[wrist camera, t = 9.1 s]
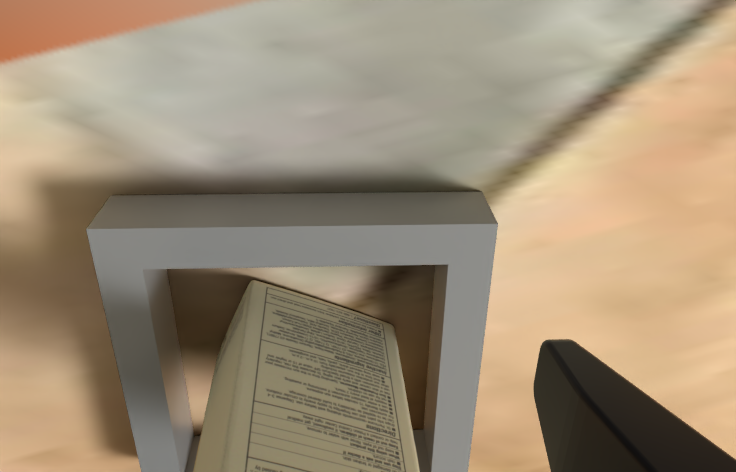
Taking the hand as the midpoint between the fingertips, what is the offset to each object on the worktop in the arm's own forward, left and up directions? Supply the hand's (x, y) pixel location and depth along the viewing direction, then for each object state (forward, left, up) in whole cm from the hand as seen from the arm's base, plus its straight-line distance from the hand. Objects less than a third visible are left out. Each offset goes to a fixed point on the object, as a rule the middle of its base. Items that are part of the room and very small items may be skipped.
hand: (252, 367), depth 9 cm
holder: (0, -10, -13) cm, 16 cm away
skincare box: (0, -10, -13) cm, 17 cm away
